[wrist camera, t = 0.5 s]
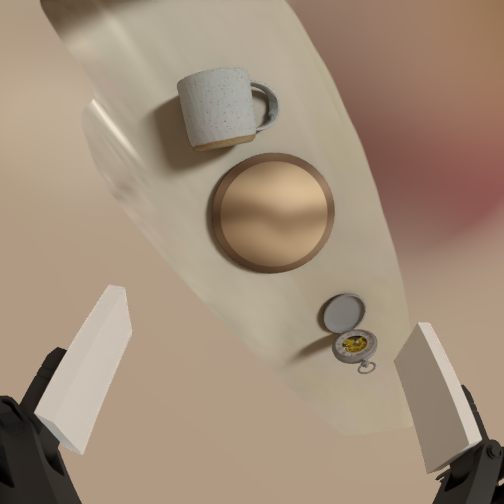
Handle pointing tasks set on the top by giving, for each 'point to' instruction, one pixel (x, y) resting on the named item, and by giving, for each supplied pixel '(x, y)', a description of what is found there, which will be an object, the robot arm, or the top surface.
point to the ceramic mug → (222, 107)
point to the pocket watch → (350, 330)
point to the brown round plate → (273, 212)
